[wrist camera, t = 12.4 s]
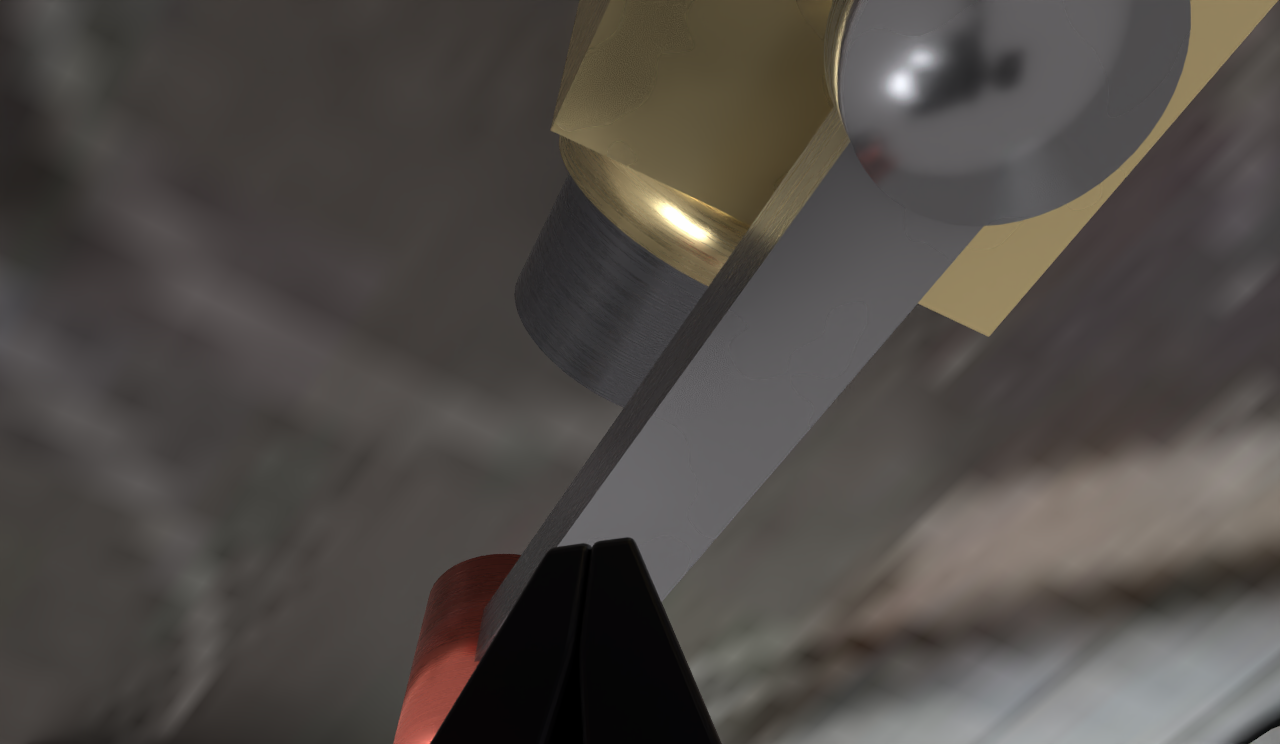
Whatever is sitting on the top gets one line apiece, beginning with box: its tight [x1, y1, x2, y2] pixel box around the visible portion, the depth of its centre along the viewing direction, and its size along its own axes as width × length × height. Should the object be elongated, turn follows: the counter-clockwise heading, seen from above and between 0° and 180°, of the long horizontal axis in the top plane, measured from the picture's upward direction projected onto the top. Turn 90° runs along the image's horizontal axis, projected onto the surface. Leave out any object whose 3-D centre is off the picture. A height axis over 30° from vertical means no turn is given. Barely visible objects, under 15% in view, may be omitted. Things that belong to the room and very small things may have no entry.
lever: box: [393, 0, 1191, 744], centre depth 12 cm, size 15×3×3 cm, turn 151°
